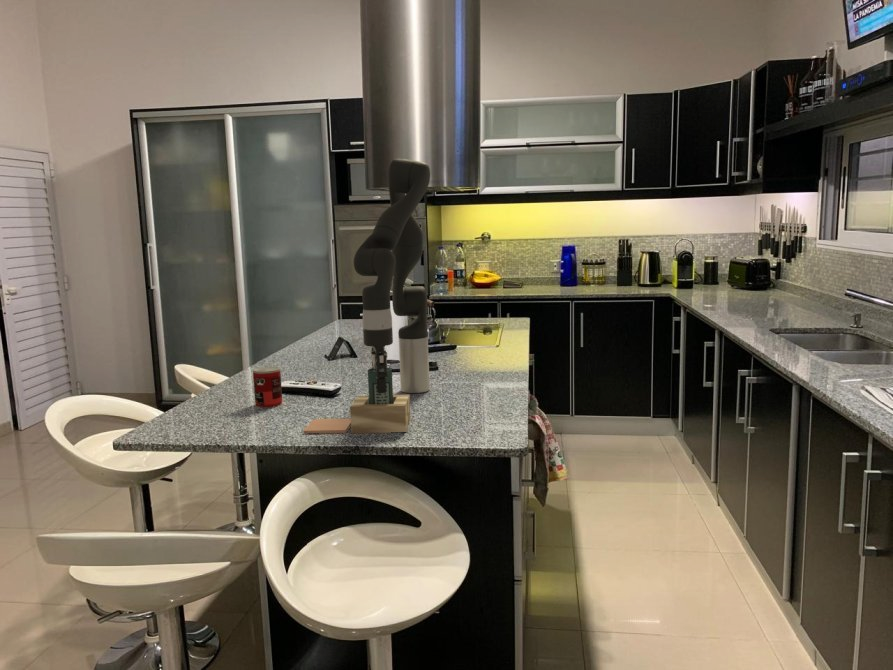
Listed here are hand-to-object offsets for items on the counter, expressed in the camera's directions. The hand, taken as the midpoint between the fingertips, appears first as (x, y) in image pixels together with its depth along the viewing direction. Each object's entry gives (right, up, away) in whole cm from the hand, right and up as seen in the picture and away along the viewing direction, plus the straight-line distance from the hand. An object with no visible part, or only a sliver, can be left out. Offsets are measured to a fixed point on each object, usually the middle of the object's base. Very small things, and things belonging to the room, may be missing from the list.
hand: (380, 389), depth 184 cm
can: (0, -10, +2) cm, 10 cm away
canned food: (-36, -7, +30) cm, 47 cm away
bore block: (0, -10, +2) cm, 10 cm away
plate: (-14, -10, +3) cm, 17 cm away
